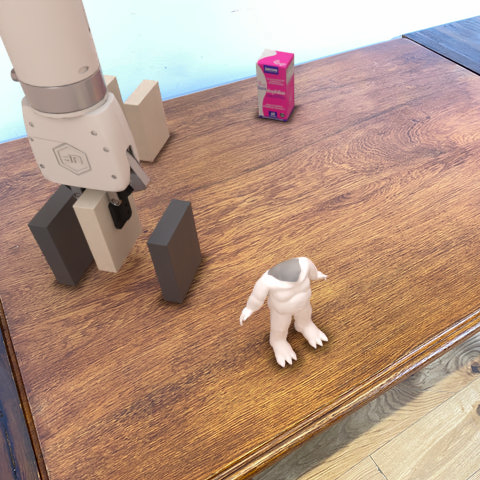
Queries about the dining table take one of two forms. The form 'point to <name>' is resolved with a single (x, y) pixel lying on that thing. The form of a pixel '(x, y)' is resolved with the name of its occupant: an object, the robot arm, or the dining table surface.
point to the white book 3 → (147, 119)
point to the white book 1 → (115, 91)
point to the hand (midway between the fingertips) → (111, 218)
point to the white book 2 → (106, 229)
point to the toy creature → (287, 304)
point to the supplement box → (275, 84)
